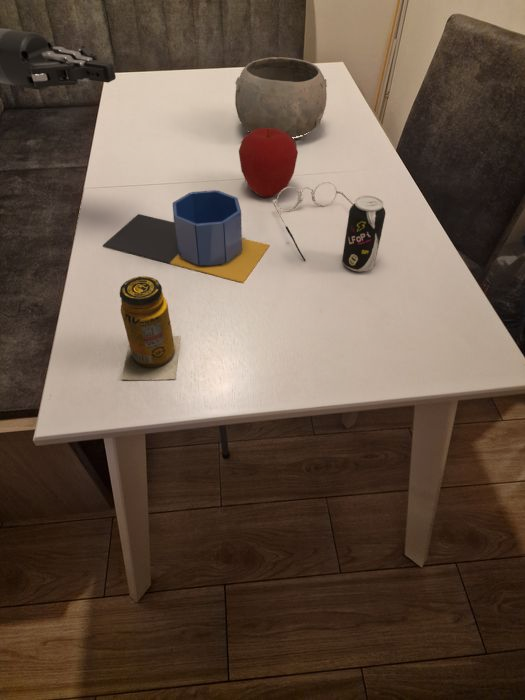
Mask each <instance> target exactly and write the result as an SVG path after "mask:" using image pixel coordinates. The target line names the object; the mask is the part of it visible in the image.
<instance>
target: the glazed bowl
mask: <svg viewBox="0 0 525 700" xmlns="http://www.w3.org/2000/svg"><path fill="white" fill-rule="evenodd" d="M172 215H173V222H174V224H175V231H176V238H177V246H178V253H179V256H180V257H181V258H184V259H185V260H186V261H188V262H190V263H192V264H195V265H199V266H217V265H222V264H225V263H227V262H229V261H231V260H232V259H234V258H235V257H236V256H237V254H239V253H240V252H241V251H242V238H243V230H242V227H243V226H242V208H241V205H240V201H239V198H238V197H237V196H234V195H231V194H228V193H225V192H223V191H221V190H214V189H213V190H200V191H191V192H188V193H187V194H185V195H183V196H181V197H180V198H178V199H176V200H175V201H173V202H172Z"/></svg>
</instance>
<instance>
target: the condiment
mask: <svg viewBox="0 0 525 700" xmlns="http://www.w3.org/2000/svg"><path fill="white" fill-rule="evenodd" d="M119 298H120V303H121V305H120V314H121V318H122V321H123V325H124V328H125V332H126V337H127V342H128V348H127V353H126V356H125V360H124V364H123V368H122V369H123V370H122V374H121V378H120V380H127V381H158V380H176V376H177V368H178V361H179V351H180V343H181V335H173V330H172V329H173V328H172V324H171V319H170V318H171V317H170V312H169V305H168V302H167V299H166V297H165V296H164V292H163V287H162V284H161V282H159V280H158V279H156V278H154V277H151V276H147V275H146V276H144V275H143V276H140V275H138V276H136V277H132V278H130V279H128V280H126V281H125V282H123V283H122V285H121V286H120V288H119Z"/></svg>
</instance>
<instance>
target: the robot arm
mask: <svg viewBox="0 0 525 700" xmlns="http://www.w3.org/2000/svg"><path fill="white" fill-rule="evenodd" d="M97 58H98V57H97V54H96V53H95V52H94V51H93V50H92V49H90V48H89V47H88V45H81V46H79V47H78V50H77V51H76V50H72V49H67V48H65V47H64V46H57V45H56V46H53V45H52V44H51V42H50V41H49V40H48V39H47V38H46V37H45V36H44V35H42V34H40V33H38V32H31V31H25V30H16V29H10V28H1V27H0V83H1V84H4V85H9V86H12V87H19V88H26V89H30V90H31V89H32V90H38V91H45V90H48V89H49V88H51V87H60V86H61V87H62V86H71V85H72V86H75V85H78V84H79V82H84V83H87V82H89V81H94V82H95V81H96V82H101V83H107V84H108V83H111V82H113V81H115V80H116V77H117V76H116V72H115V71H116V70H115V67H114V66H115V65H113V63H111V62H106V61H99V60H98V59H97Z"/></svg>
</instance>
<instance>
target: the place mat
mask: <svg viewBox="0 0 525 700" xmlns="http://www.w3.org/2000/svg"><path fill="white" fill-rule="evenodd" d="M102 247H103V248H106V249H110V250H114V251H118V252H122V253H126V254H130V255H134V256H138V257H141V258H145V259H149V260H153V261H156V262H160V263H163V264H169V265H172V266H176V267H180V268H183V269H187V270H191V271H195V272H198V273H199V272H200V273H202V274H207V275H209V276H210V275H211V276H213V277H217V278H221V279H226V280H229V281H233V282H237V283H241V284H244V283H245V282H246V281H247V279H248V277H249V276H250V274H251V273H252V272H253V270H254V269H255V267H256V266H257V265H258V264H259V262H260V261H261V260H262V258H263V256H264V255H265V253H266V252H267V251H268V249H269V248H270V247H271V245H270V244H268V243H264V242H258V241H255V240H251V239H247V238H243V237H242V251H241V252H240V253H239V254H237V256H236V257H235V258H234V259H232V260H231V261H229V262H227V263H225V264H222V265H217V266H199V265H195V264H192V263H190V262H188V261H186V260H185V259H184V258H181V257H180V256H179V253H178V246H177V238H176V231H175V224H174V221H170V220H165V219H162V218H157V217H153V216H150V215H149V216H148V215H144V214H140V213H138V214H137V215H135V216H134V217H133V218H132V219H131V220H130V221H128V222H127V223H126V224H125V225H124V226H123V227H121V229H120V230H118V231H117V232H116V233H115V234H113V236H111V237H110V238H109V239H108V240H107V241H106V242H104V243H103V244H102Z"/></svg>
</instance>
